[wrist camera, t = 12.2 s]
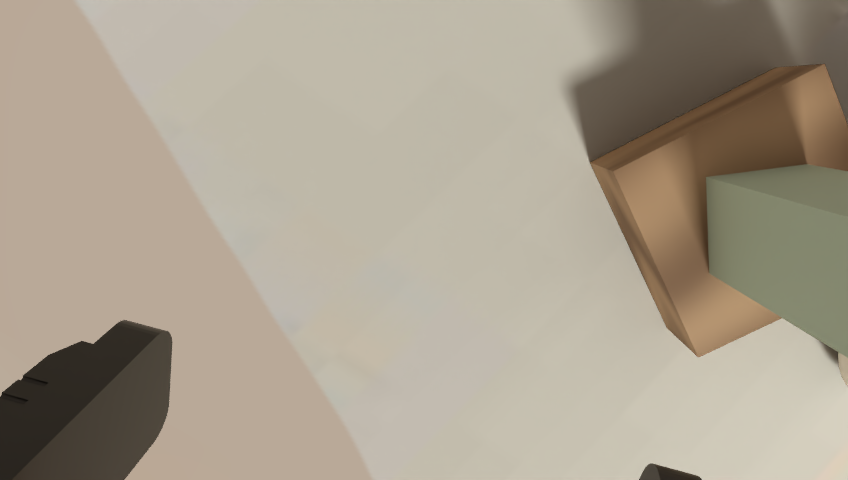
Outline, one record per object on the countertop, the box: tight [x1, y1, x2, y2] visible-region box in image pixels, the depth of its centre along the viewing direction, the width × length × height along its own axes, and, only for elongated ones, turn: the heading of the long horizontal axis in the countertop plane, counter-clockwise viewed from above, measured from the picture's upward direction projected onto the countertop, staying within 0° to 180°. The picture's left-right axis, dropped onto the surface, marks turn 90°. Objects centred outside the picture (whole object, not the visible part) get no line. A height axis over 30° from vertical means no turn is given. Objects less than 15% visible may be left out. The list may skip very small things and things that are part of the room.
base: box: [590, 64, 848, 357], centre depth 31 cm, size 10×10×4 cm
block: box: [706, 164, 848, 358], centre depth 25 cm, size 4×4×10 cm
